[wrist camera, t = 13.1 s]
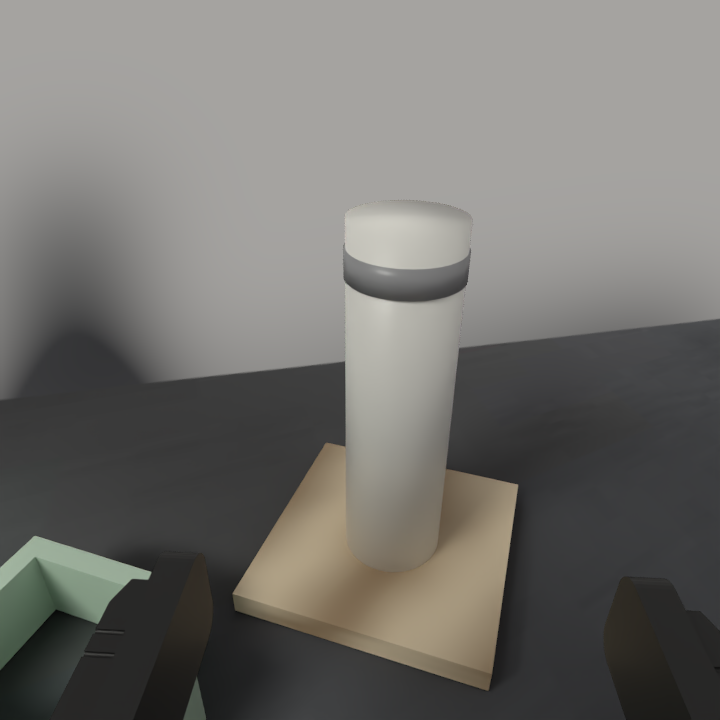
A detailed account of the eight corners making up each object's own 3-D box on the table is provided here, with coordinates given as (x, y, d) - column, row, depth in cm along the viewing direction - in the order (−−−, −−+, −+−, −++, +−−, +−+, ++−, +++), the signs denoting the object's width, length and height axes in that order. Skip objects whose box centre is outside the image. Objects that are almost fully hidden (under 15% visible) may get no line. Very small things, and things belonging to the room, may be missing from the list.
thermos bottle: (330, 558, 24) (323, 227, 17) (361, 492, 27) (366, 195, 20) (427, 584, 23) (462, 243, 16) (447, 513, 26) (483, 206, 19)
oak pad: (234, 610, 23) (232, 594, 22) (326, 457, 31) (326, 442, 31) (488, 690, 20) (492, 674, 20) (515, 500, 28) (518, 484, 28)
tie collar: (-118, 769, 18) (-161, 715, 16) (55, 587, 24) (34, 535, 22) (115, 884, 16) (90, 833, 14) (242, 651, 21) (235, 598, 20)
